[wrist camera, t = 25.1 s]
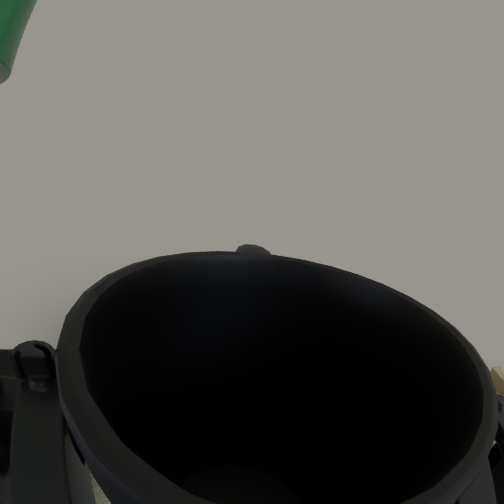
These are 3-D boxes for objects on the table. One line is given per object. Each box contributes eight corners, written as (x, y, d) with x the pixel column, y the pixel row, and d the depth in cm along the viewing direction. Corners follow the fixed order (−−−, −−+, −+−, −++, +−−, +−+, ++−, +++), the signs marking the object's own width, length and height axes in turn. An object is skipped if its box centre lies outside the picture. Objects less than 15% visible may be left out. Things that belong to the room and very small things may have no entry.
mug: (303, 394, 16) (349, 240, 13) (352, 579, 4) (562, 431, 2) (163, 381, 15) (168, 214, 12) (119, 577, 3) (-59, 450, 1)
